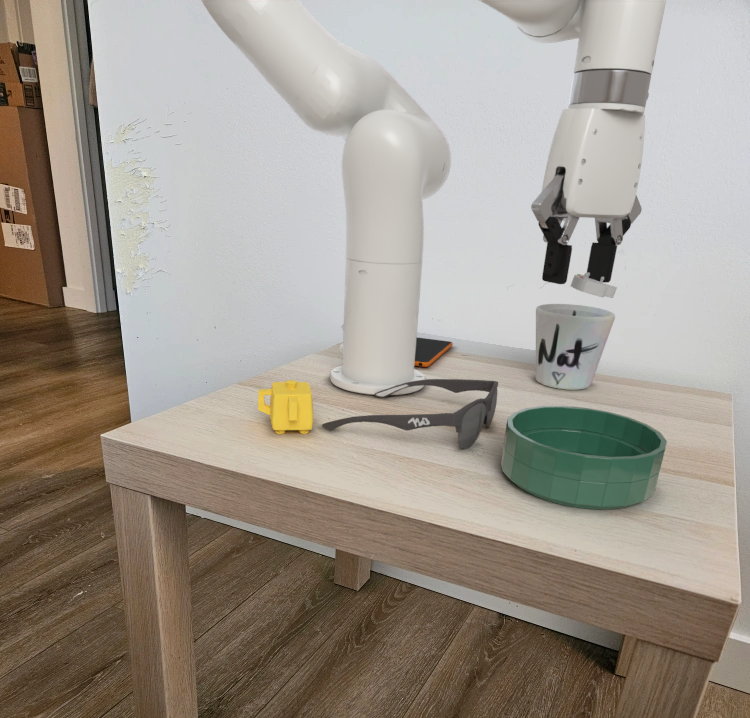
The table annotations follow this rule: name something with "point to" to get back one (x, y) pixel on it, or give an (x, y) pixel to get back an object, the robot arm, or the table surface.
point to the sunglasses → (463, 419)
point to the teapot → (288, 406)
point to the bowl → (582, 456)
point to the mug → (570, 344)
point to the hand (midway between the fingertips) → (576, 280)
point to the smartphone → (429, 350)
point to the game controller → (592, 286)
